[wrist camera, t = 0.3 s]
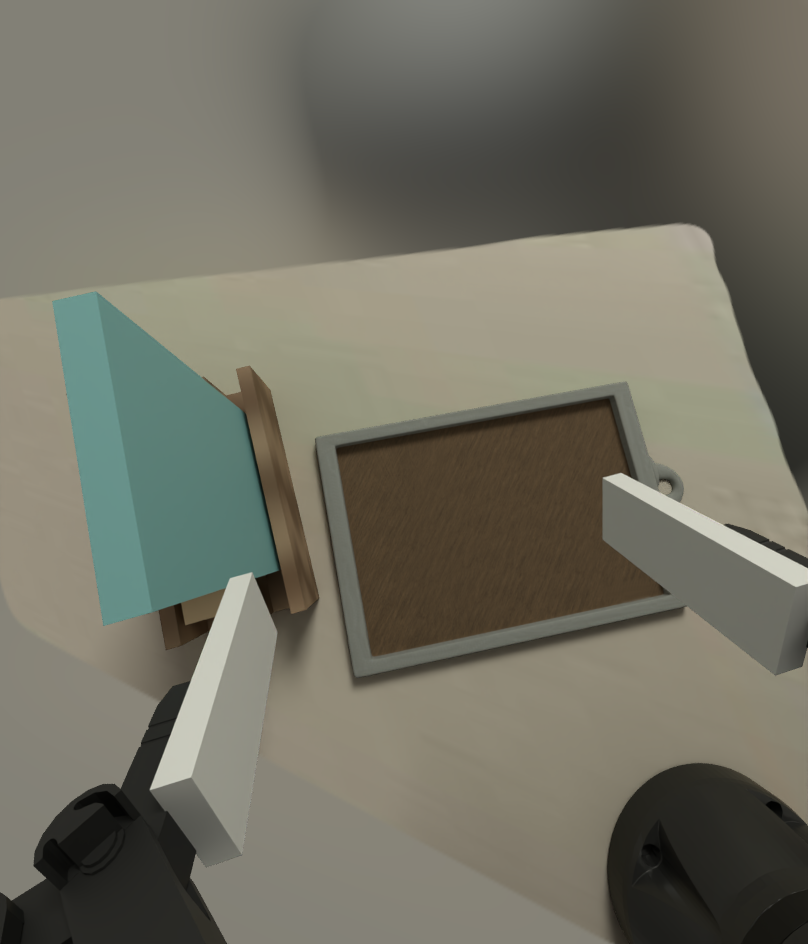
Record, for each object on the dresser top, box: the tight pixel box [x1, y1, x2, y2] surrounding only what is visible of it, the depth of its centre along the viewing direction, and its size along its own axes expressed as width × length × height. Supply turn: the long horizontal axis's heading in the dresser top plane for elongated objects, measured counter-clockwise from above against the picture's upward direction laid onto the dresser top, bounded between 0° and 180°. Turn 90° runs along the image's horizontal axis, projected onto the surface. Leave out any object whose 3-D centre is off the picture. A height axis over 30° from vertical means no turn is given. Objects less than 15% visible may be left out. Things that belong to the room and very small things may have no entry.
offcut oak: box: [181, 588, 226, 625], centre depth 29 cm, size 7×3×4 cm, turn 16°
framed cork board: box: [315, 382, 686, 678], centre depth 33 cm, size 19×2×30 cm
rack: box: [159, 366, 319, 650], centre depth 30 cm, size 18×9×5 cm, turn 16°
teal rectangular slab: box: [52, 292, 281, 626], centre depth 23 cm, size 12×2×18 cm, turn 15°
